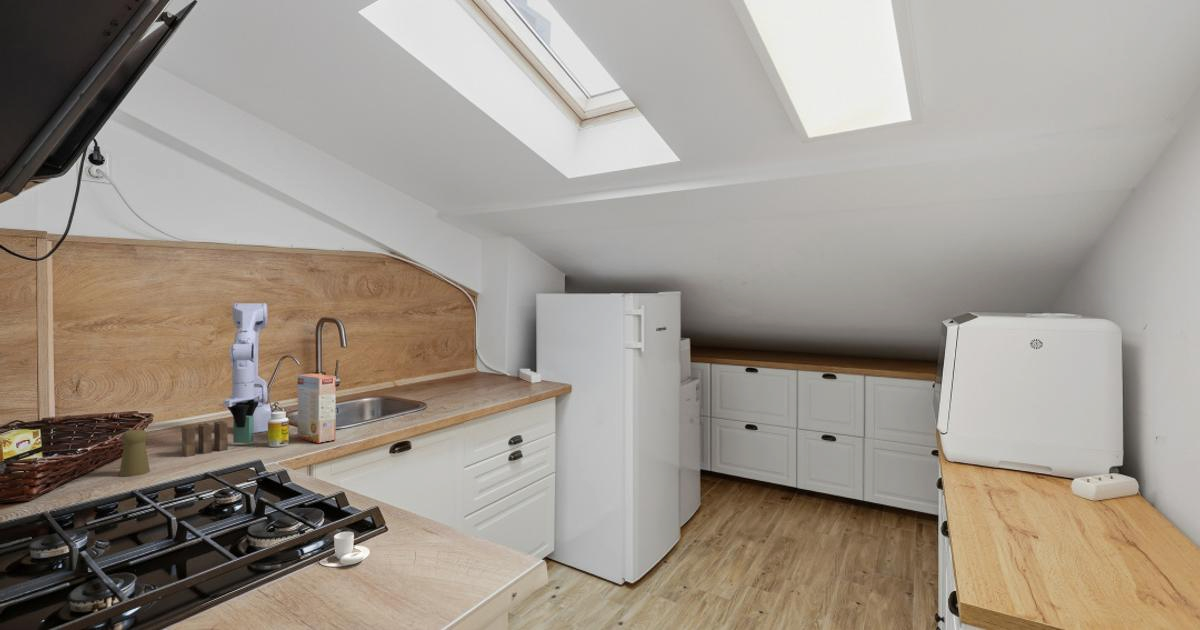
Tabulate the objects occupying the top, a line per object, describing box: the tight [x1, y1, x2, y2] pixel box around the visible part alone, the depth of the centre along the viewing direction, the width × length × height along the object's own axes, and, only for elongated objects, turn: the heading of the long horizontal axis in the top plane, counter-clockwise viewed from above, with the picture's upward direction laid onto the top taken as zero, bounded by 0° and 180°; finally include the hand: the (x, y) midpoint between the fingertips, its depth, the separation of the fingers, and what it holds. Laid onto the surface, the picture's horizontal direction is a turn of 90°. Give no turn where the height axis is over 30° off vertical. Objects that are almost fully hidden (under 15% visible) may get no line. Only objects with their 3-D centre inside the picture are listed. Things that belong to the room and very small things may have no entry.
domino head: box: [232, 416, 255, 444], centre depth 170 cm, size 2×5×8 cm, turn 87°
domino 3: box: [213, 420, 229, 452], centre depth 165 cm, size 2×5×8 cm, turn 50°
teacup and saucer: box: [318, 531, 371, 568], centre depth 94 cm, size 9×8×4 cm
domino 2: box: [197, 422, 213, 455], centre depth 162 cm, size 2×5×8 cm, turn 50°
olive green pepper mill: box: [118, 429, 151, 478], centre depth 141 cm, size 6×6×11 cm
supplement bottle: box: [267, 410, 290, 448], centre depth 170 cm, size 6×6×10 cm
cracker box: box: [297, 372, 337, 444], centre depth 178 cm, size 14×6×21 cm, turn 53°
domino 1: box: [181, 425, 196, 458], centre depth 159 cm, size 2×5×8 cm, turn 50°
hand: (243, 426), depth 170 cm, fingers closed on domino head, 2 cm apart
